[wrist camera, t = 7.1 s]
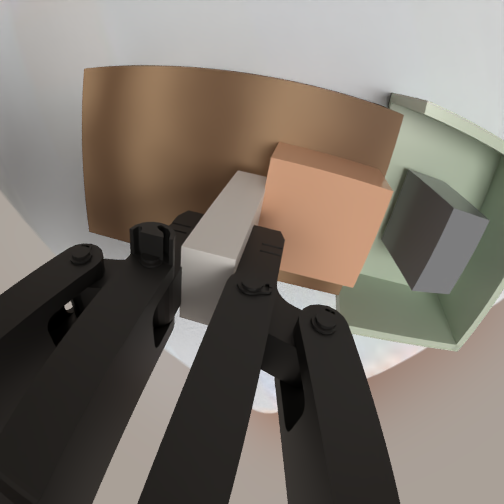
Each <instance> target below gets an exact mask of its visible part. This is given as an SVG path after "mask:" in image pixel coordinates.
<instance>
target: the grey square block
mask: <svg viewBox="0 0 504 504" xmlns="http://www.w3.org/2000/svg"><path fill="white" fill-rule="evenodd" d="M489 221H490V220H489V219H488V218H487V217H485V216H484V215H483V214H482V213H481V212H480V211H479V210H478V209H477V208H475V207H474V206H473V205H472V204H471V203H470V202H469V201H467V200H466V199H465V198H464V197H463V196H461V195H460V194H459V193H458V192H457V191H455V190H454V189H453V188H452V187H450V186H449V185H448V184H447V183H445V182H444V181H442V180H439V179H436V178H433V177H430V176H428V175H425V174H422V173H419V172H416V171H413V170H410V169H408V172H407V175H406V178H405V180H404V183H403V186H402V188H401V191H400V194H399V196H398V199H397V202H396V204H395V207H394V209H393V212H392V214H391V217H390V219H389V222H388V224H387V227H386V229H385V231H384V234H383V236H382V238H381V240H382V242H383V244H384V245H385V247H386V248H387V250H388V251H389V253H390V255H391V256H392V258H393V260H394V261H395V263H396V265H397V266H398V268H399V270H400V271H401V273H402V275H403V276H404V278H405V280H406V282H407V283H408V285H409V287H410V289H411V290H412V291H418V292H429V293H440V294H450V292H451V290H452V289H453V287H454V286H455V284H456V282H457V281H458V279H459V277H460V276H461V274H462V272H463V271H464V269H465V267H466V265H467V264H468V262H469V260H470V258H471V256H472V255H473V253H474V251H475V249H476V247H477V245H478V243H479V241H480V239H481V237H482V235H483V233H484V231H485V229H486V227H487V225H488V223H489Z"/></svg>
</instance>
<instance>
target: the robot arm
mask: <svg viewBox="0 0 504 504" xmlns="http://www.w3.org/2000/svg"><path fill="white" fill-rule="evenodd" d="M266 179H267V177H265V176H261V175H256V174H252V173H247V172H243V171H237V172H236V173H235V175H234V176H233V177H232V179H231V180H230V181H229V183H228V184H227V185H226V186H225V188H224V189H223V190H222V192H221V193H220V194H219V196H218V197H217V198H216V200H215V201H214V202H213V204H212V205H211V206H210V208H209V209H208V210H207V212H206V213H205V214H202V213H198V212H193V211H189V210H188V211H186V212H184V213H182V214H180V215H178V216H177V217H176V218H175V219H174V221H173V222H172V224H170V225H166V224H163V223H160V222H143V223H140V224H136V225H134V226H133V227H131V228H130V229H129V233H130V249H131V254H130V255H129V257H128V258H127V259H126V260H113V259H103V253H102V250H101V249H100V248H99V247H98V246H96V245H93V244H79V245H75V246H73V247H70V248H68V249H67V250H65V251H64V252H62V253H61V254H59V255H57V256H56V257H54V258H53V259H51V260H50V261H48V262H47V263H45V264H44V265H42V266H41V267H39V268H38V269H37V270H35V271H33V272H32V273H30V274H29V275H28V276H26V277H25V278H23V279H22V280H20V281H19V282H18V283H16V284H15V285H13V286H12V287H11V288H9V289H8V290H6V291H5V292H4V293H2V294H1V295H0V504H92V503H93V500H94V498H95V496H96V493H97V491H98V489H99V486H100V484H101V482H102V479H103V477H104V475H105V473H106V470H107V468H108V466H109V463H110V461H111V459H112V457H113V454H114V452H115V450H116V448H117V445H118V443H119V441H120V439H121V437H122V434H123V432H124V430H125V428H126V426H127V424H128V422H129V419H130V417H131V415H132V413H133V411H134V408H135V407H136V404H137V402H138V400H139V398H140V396H141V394H142V392H143V390H144V387H145V385H146V383H147V381H148V379H149V377H150V375H151V373H152V371H153V369H154V367H155V365H156V363H157V361H158V359H159V357H160V355H161V353H162V351H163V349H164V347H165V345H166V343H167V341H168V339H169V337H170V335H171V333H172V331H173V328H174V324H175V323H174V316H175V314H176V312H177V310H178V308H179V306H180V317H182V318H185V319H188V320H192V321H195V322H199V323H202V324H205V325H208V327H207V330H206V332H205V335H204V337H203V340H202V342H201V345H200V347H199V350H198V352H197V354H196V357H195V359H194V362H193V364H192V367H191V369H190V372H189V374H188V377H187V379H186V382H185V384H184V387H183V389H182V392H181V394H180V397H179V399H178V402H177V404H176V407H175V409H174V412H173V414H172V417H171V419H170V422H169V424H168V427H167V429H166V432H165V434H164V437H163V439H162V442H161V444H160V447H159V450H158V452H157V455H156V457H155V460H154V462H153V465H152V468H151V470H150V473H149V475H148V478H147V480H146V483H145V486H144V488H143V491H142V493H141V496H140V499H139V501H138V504H228V503H229V499H230V495H231V491H232V487H233V483H234V480H235V475H236V472H237V467H238V464H239V460H240V456H241V452H242V448H243V443H244V439H245V435H246V431H247V427H248V422H249V418H250V414H251V410H252V405H253V401H254V397H255V392H256V388H257V383H258V379H259V374H260V370H263V371H265V372H267V373H268V374H270V375H272V376H274V377H275V388H276V397H277V406H278V415H279V424H280V433H281V442H282V452H283V461H284V470H285V480H286V488H287V499H288V504H400V500H399V497H398V492H397V488H396V483H395V479H394V475H393V471H392V466H391V462H390V458H389V455H388V451H387V447H386V443H385V439H384V436H383V432H382V429H381V426H380V422H379V418H378V415H377V412H376V408H375V405H374V401H373V398H372V395H371V391H370V388H369V385H368V382H367V378H366V375H365V372H364V369H363V366H362V363H361V360H360V357H359V354H358V351H357V348H356V345H355V342H354V339H353V336H352V333H351V330H350V328H349V325H348V323H347V321H346V319H345V318H344V316H343V315H341V314H340V313H339V312H338V311H337V310H335V309H333V308H331V307H329V306H324V305H319V304H318V305H310V306H308V307H306V308H304V309H303V310H300V309H298V308H296V307H294V306H293V305H291V304H289V303H288V302H287V301H285V300H284V299H283V298H282V297H281V295H280V294H279V292H278V289H277V279H278V274H279V269H280V264H281V259H282V253H283V248H284V243H285V239H284V237H283V235H282V233H281V231H277V230H273V229H269V228H265V227H261V226H258V223H259V218H260V213H261V208H262V204H263V199H264V194H265V184H266ZM69 301H71V302H72V306H73V307H72V308H71V309H69V310H65V308H64V305H65V304H67V303H68V302H69Z"/></svg>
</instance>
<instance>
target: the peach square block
mask: <svg viewBox="0 0 504 504" xmlns="http://www.w3.org/2000/svg"><path fill="white" fill-rule="evenodd" d="M393 192H394V191H393V190H392V188H391V187H390V185H389V184H388V182H387V180H386V179H385V177H384V176H383V174H382V173H381V171H380V170H379V169H377V168H373V167H370V166H367V165H364V164H361V163H357V162H354V161H351V160H347V159H344V158H340V157H337V156H333V155H330V154H326V153H322V152H319V151H315V150H311V149H307V148H303V147H299V146H295V145H291V144H286V143H282V142H279V143H278V145H277V147H276V149H275V151H274V153H273V155H272V156H271V160H270V165H269V170H268V175H267V179H266V184H265V194H264V199H263V204H262V208H261V213H260V218H259V223H258V226H261V227H265V228H269V229H273V230H277V231H281V233H282V235H283V237H284V239H285V243H284V248H283V253H282V259H281V264H280V269H279V270H282V271H286V272H290V273H294V274H298V275H302V276H306V277H310V278H314V279H319V280H323V281H327V282H331V283H335V284H339V285H343V286H347V287H352V288H353V287H354V285H355V283H356V281H357V278H358V276H359V274H360V272H361V270H362V268H363V265H364V263H365V261H366V259H367V256H368V254H369V252H370V249H371V247H372V245H373V242H374V240H375V238H376V235H377V233H378V230H379V228H380V225H381V223H382V220H383V218H384V215H385V213H386V210H387V208H388V205H389V202H390V200H391V197H392V194H393Z"/></svg>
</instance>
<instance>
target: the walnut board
mask: <svg viewBox="0 0 504 504" xmlns="http://www.w3.org/2000/svg"><path fill="white" fill-rule="evenodd" d="M403 117H404V115H403V114H401V113H398V112H396V111H394V110H391V109H389V108H386V107H384V106H381V105H378V104H375V103H372V102H369V101H366V100H363V99H359V98H356V97H353V96H349V95H346V94H343V93H339V92H335V91H332V90H328V89H324V88H320V87H316V86H312V85H308V84H303V83H299V82H294V81H289V80H284V79H279V78H274V77H268V76H262V75H256V74H250V73H243V72H235V71H227V70H219V69H209V68H197V67H182V66H155V65H131V66H109V67H97V68H86V69H84V79H83V99H82V153H83V173H84V187H85V198H86V208H87V217H88V225H89V232H92V233H96V234H99V235H103V236H107V237H110V238H114V239H118V240H121V241H125V242H128V243H130V233H129V229H130V228H131V227H133V226H134V225H136V224H140V223H143V222H160V223H163V224H166V225H170V224H172V222H173V221H174V219H175V218H176V217H177V216H178V215H180V214H182V213H184V212H186V211H188V210H189V211H193V212H198V213H202V214H205V213H206V212H207V210H208V209H209V208H210V206H211V205H212V204H213V202H214V201H215V200H216V198H217V197H218V196H219V194H220V193H221V192H222V190H223V189H224V188H225V186H226V185H227V184H228V183H229V181H230V180H231V179H232V177H233V176H234V175H235V173H236V172H237V171H243V172H247V173H252V174H256V175H261V176H265V177H267V175H268V170H269V165H270V160H271V156H272V155H273V153H274V151H275V149H276V147H277V145H278V143H279V142H282V143H286V144H291V145H295V146H299V147H303V148H307V149H311V150H315V151H319V152H322V153H326V154H330V155H333V156H337V157H340V158H344V159H347V160H351V161H354V162H357V163H361V164H364V165H367V166H370V167H373V168H377V169H379V170H380V171H381V173H382V174H383V176H384V177H385V176H386V173H387V170H388V167H389V164H390V161H391V157H392V154H393V151H394V148H395V145H396V141H397V138H398V135H399V131H400V128H401V124H402V121H403ZM277 281H280V282H285V283H289V284H293V285H297V286H301V287H305V288H310V289H314V290H318V291H322V292H327V293H331V294H335V295H339V293H340V291H341V289H342V286H343V285H339V284H335V283H331V282H327V281H323V280H319V279H314V278H310V277H306V276H302V275H298V274H294V273H290V272H286V271H282V270H279V274H278V279H277Z"/></svg>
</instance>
